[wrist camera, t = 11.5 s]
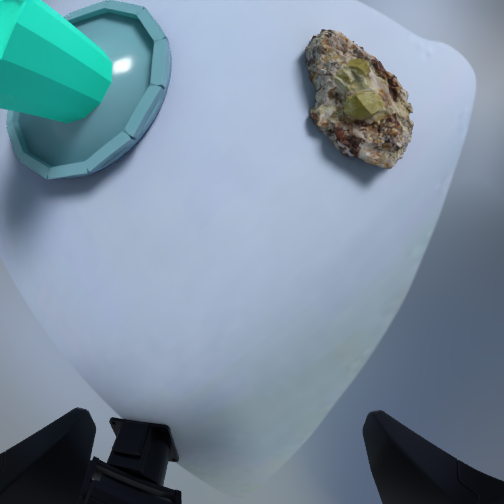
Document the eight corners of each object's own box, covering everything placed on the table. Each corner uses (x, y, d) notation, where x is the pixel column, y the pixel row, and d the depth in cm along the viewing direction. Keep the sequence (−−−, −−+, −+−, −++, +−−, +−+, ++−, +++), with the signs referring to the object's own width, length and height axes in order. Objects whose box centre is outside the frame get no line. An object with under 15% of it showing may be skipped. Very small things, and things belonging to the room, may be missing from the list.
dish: (170, 168, 18) (162, 166, 16) (18, 188, 17) (3, 189, 15) (180, -3, 14) (175, -16, 12) (35, 40, 14) (23, 34, 12)
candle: (53, 138, 15) (-80, 127, 4) (42, 75, 14) (-66, 36, 2) (121, 97, 15) (-2, 27, 4) (105, 34, 14) (14, -48, 2)
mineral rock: (446, 140, 16) (382, 181, 14) (407, 150, 20) (341, 189, 18) (372, 14, 14) (286, 22, 12) (343, 40, 18) (264, 57, 16)
